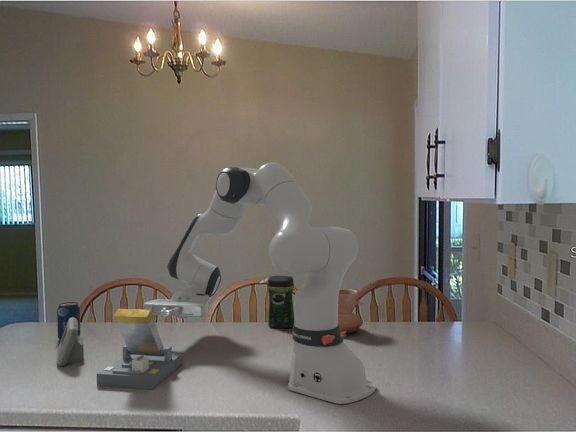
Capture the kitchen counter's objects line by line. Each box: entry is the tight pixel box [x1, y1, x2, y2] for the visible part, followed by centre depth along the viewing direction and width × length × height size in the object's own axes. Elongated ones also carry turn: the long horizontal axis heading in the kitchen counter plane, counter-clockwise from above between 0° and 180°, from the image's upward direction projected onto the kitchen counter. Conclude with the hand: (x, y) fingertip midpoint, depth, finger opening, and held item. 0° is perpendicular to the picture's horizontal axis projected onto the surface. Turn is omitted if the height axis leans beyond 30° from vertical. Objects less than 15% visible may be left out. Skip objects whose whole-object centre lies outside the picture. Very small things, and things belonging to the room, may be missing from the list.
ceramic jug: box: [338, 288, 365, 335], centre depth 163 cm, size 18×14×14 cm
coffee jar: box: [266, 275, 295, 329], centre depth 170 cm, size 10×8×19 cm
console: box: [96, 344, 183, 390], centre depth 124 cm, size 18×15×6 cm
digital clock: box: [56, 317, 85, 367], centre depth 138 cm, size 16×9×11 cm, turn 14°
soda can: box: [56, 301, 81, 342], centre depth 157 cm, size 7×7×12 cm
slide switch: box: [132, 355, 149, 373], centre depth 118 cm, size 3×3×4 cm
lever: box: [113, 308, 165, 356], centre depth 123 cm, size 3×10×16 cm
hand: (165, 314), depth 138 cm, fingers closed
